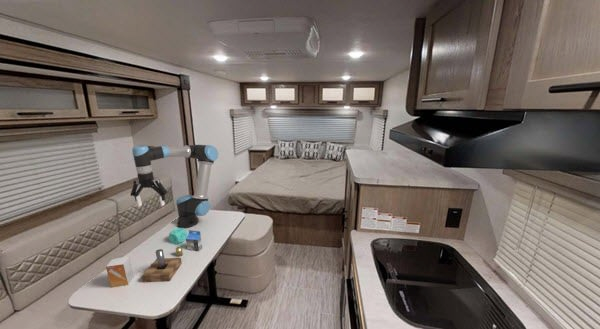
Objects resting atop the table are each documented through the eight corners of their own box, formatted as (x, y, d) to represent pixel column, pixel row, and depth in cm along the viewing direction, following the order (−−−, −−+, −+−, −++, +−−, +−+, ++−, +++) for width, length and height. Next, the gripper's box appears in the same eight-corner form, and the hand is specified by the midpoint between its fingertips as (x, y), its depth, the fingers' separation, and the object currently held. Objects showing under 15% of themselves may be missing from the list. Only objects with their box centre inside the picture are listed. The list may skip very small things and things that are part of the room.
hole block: (157, 264, 132) (156, 258, 131) (181, 263, 132) (180, 257, 131) (142, 282, 118) (141, 276, 117) (169, 281, 119) (168, 275, 118)
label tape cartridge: (187, 249, 145) (184, 233, 142) (190, 246, 149) (188, 230, 146) (199, 251, 143) (196, 234, 140) (202, 247, 147) (200, 231, 144)
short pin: (178, 253, 142) (177, 246, 140) (183, 253, 142) (182, 246, 140) (175, 256, 138) (174, 249, 137) (181, 256, 138) (179, 249, 137)
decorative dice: (188, 238, 158) (186, 228, 156) (179, 245, 150) (177, 234, 148) (178, 236, 160) (177, 227, 158) (169, 243, 152) (167, 233, 150)
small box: (111, 287, 115) (105, 266, 112) (117, 279, 121) (112, 258, 118) (128, 285, 117) (123, 264, 113) (134, 276, 123) (129, 256, 119)
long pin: (162, 270, 127) (157, 249, 123) (168, 270, 127) (164, 249, 124) (158, 274, 124) (154, 253, 120) (164, 274, 124) (160, 252, 120)
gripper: (118, 174, 125) (126, 209, 131) (163, 173, 126) (169, 207, 132) (127, 171, 133) (134, 203, 138) (170, 170, 134) (175, 202, 139)
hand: (151, 205), depth 135 cm, fingers open, 13 cm apart
